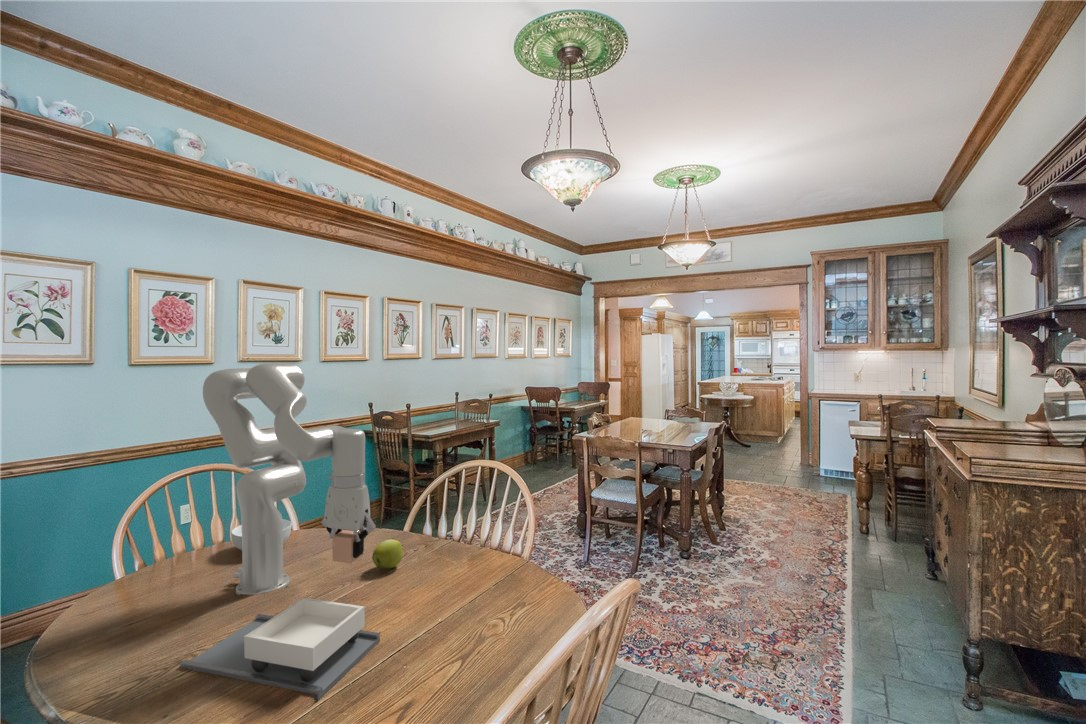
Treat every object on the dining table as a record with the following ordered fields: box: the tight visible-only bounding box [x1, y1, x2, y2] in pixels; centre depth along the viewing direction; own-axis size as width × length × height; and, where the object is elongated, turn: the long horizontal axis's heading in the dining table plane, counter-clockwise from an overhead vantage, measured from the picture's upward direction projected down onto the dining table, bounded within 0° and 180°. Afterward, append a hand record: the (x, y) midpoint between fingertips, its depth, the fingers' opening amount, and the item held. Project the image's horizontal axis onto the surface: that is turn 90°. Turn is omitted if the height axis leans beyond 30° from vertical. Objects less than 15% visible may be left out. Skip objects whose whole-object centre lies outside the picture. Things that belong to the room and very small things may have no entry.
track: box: [179, 613, 381, 701], centre depth 102 cm, size 32×19×2 cm, turn 75°
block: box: [332, 530, 364, 564], centre depth 121 cm, size 5×5×6 cm
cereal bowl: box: [230, 518, 293, 551], centre depth 160 cm, size 17×17×7 cm
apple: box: [371, 538, 404, 570], centre depth 144 cm, size 8×9×8 cm
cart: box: [244, 597, 366, 682], centre depth 101 cm, size 16×16×7 cm
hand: (348, 553), depth 121 cm, fingers closed on block, 5 cm apart
